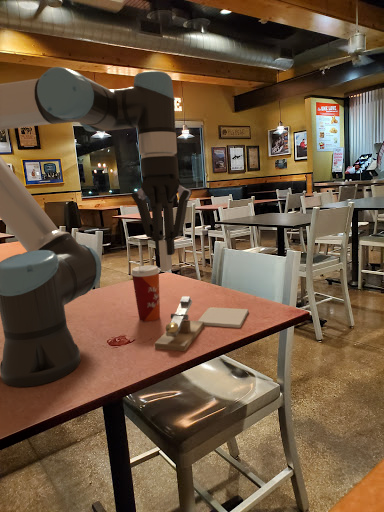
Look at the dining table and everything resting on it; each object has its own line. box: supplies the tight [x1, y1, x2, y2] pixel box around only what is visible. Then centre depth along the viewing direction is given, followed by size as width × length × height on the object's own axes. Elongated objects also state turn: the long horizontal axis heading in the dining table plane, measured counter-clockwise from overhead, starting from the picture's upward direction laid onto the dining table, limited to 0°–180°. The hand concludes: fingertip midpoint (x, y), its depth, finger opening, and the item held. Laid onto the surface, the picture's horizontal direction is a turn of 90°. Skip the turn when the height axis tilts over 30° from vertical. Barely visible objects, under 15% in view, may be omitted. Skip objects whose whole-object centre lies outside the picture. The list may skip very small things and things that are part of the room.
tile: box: [197, 306, 249, 329], centre depth 95 cm, size 11×11×1 cm
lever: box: [165, 295, 193, 337], centre depth 84 cm, size 12×4×2 cm, turn 160°
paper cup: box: [130, 264, 161, 323], centre depth 98 cm, size 8×8×14 cm
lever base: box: [154, 319, 205, 352], centre depth 85 cm, size 14×7×4 cm, turn 161°
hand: (166, 269), depth 78 cm, fingers closed
